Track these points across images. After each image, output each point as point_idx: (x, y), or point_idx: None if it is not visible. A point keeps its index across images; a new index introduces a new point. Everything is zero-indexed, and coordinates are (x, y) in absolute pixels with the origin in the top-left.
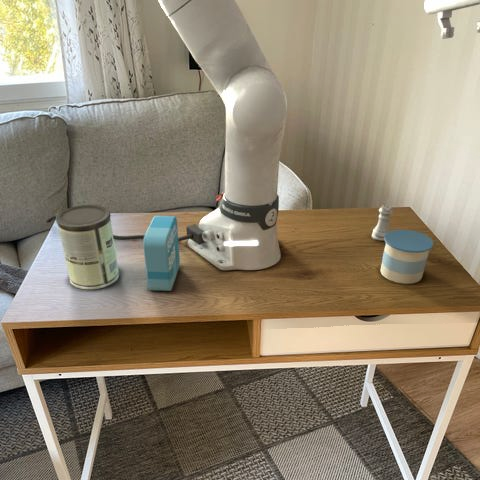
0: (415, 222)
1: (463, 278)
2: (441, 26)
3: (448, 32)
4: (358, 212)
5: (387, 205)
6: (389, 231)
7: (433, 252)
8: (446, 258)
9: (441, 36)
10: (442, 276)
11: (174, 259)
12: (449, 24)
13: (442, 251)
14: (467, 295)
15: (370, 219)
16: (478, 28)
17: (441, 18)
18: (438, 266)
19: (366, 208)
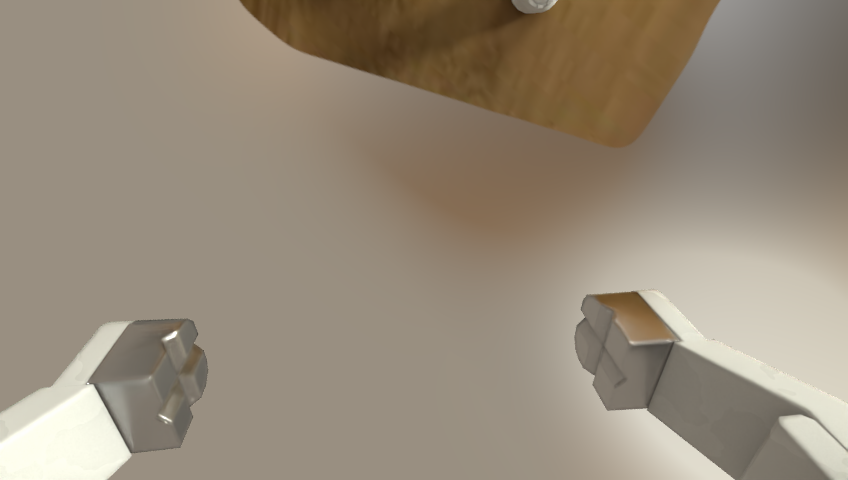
0: (557, 126)
1: (320, 50)
2: (719, 350)
3: (606, 337)
4: (681, 23)
5: (548, 1)
6: (520, 4)
7: (426, 66)
8: (396, 75)
9: (653, 292)
10: (335, 12)
11: None
12: (682, 424)
13: (423, 88)
14: (264, 10)
15: (628, 29)
16: (161, 334)
17: (804, 425)
18: (372, 34)
19: (686, 61)
